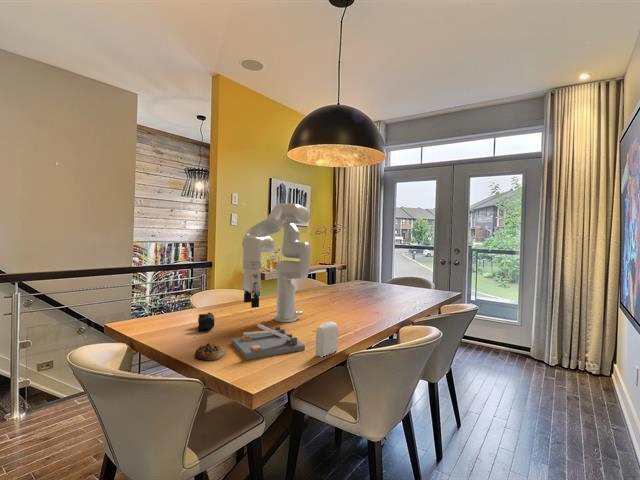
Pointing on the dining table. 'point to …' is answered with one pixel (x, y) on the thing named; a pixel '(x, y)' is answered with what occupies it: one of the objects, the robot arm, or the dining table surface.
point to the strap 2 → (274, 332)
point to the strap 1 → (258, 333)
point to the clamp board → (266, 345)
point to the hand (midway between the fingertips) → (251, 304)
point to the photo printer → (326, 338)
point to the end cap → (205, 322)
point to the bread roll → (209, 352)
